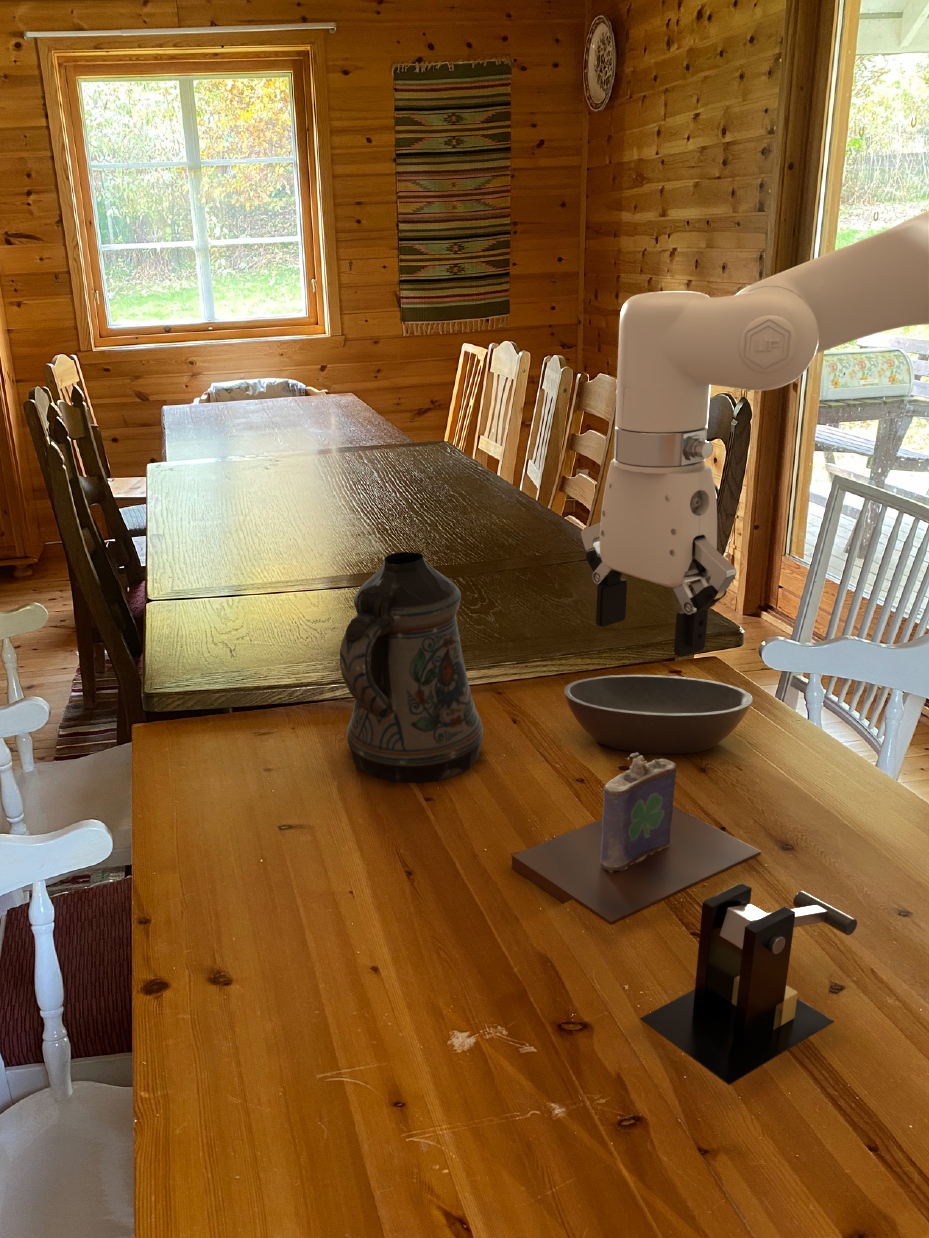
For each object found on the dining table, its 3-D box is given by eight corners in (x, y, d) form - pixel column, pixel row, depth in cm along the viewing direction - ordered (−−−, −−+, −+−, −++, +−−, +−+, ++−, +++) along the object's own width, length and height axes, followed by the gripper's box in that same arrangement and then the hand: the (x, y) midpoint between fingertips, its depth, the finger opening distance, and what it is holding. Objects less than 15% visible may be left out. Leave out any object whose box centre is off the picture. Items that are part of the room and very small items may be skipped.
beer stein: (485, 725, 141) (484, 535, 131) (478, 799, 124) (476, 586, 114) (358, 723, 144) (348, 536, 134) (333, 795, 126) (319, 586, 116)
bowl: (565, 716, 143) (566, 671, 140) (743, 724, 138) (747, 678, 136) (559, 758, 132) (560, 710, 129) (752, 768, 127) (757, 719, 125)
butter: (743, 985, 90) (746, 960, 89) (794, 1018, 86) (798, 992, 85) (721, 997, 89) (724, 971, 88) (772, 1031, 85) (775, 1005, 84)
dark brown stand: (741, 974, 93) (754, 855, 89) (832, 1033, 86) (852, 907, 82) (638, 1030, 88) (646, 905, 83) (727, 1098, 81) (742, 966, 76)
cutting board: (655, 808, 120) (656, 796, 119) (759, 864, 109) (761, 851, 108) (511, 868, 110) (511, 855, 110) (610, 935, 99) (611, 921, 99)
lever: (799, 910, 91) (807, 884, 91) (852, 940, 88) (861, 913, 87) (704, 927, 85) (712, 898, 84) (757, 959, 81) (766, 930, 80)
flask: (613, 876, 105) (618, 776, 101) (590, 863, 108) (594, 765, 103) (677, 843, 110) (684, 747, 106) (653, 832, 112) (659, 737, 108)
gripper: (773, 455, 88) (753, 655, 95) (619, 428, 102) (611, 605, 108) (708, 469, 84) (692, 675, 91) (557, 440, 98) (553, 621, 105)
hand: (648, 637), depth 100 cm, fingers open, 9 cm apart
